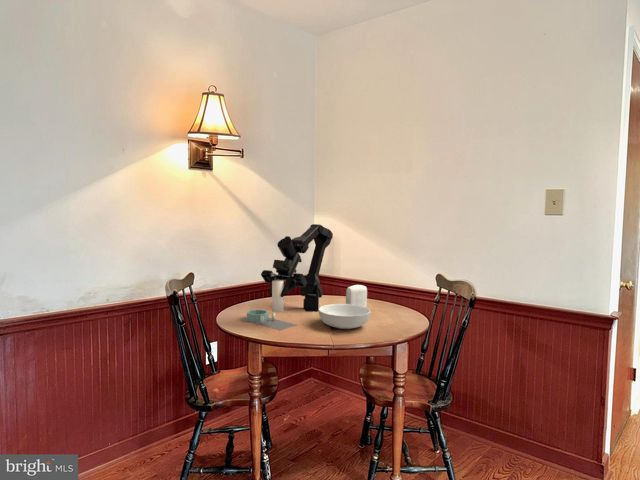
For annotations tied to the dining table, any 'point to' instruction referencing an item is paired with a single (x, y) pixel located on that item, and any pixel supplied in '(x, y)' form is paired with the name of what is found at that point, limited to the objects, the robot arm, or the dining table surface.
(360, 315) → the serving bowl
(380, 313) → the dining table surface
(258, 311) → the end holder
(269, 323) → the board
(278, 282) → the white cylinder
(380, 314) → the dining table surface
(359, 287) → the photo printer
